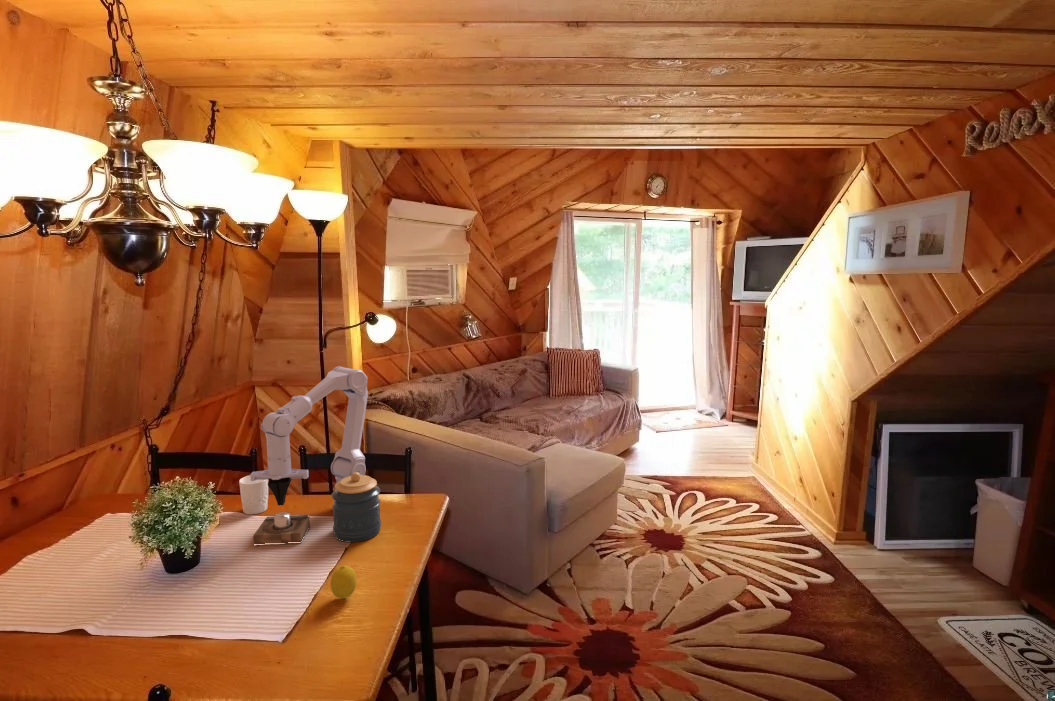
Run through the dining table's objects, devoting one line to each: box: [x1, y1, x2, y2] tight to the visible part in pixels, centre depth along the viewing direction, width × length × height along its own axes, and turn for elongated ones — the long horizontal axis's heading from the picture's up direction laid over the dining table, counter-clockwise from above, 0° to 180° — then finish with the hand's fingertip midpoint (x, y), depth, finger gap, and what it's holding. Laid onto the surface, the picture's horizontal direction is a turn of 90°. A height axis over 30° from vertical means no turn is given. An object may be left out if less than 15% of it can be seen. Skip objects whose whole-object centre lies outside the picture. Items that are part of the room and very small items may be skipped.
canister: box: [331, 472, 382, 543], centre depth 151 cm, size 13×13×18 cm
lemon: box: [330, 564, 357, 600], centre depth 121 cm, size 6×6×8 cm
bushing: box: [274, 511, 291, 530], centre depth 149 cm, size 4×4×6 cm
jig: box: [252, 514, 311, 545], centre depth 149 cm, size 12×10×4 cm
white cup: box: [238, 474, 269, 515], centre depth 164 cm, size 8×8×10 cm
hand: (281, 503), depth 148 cm, fingers closed
